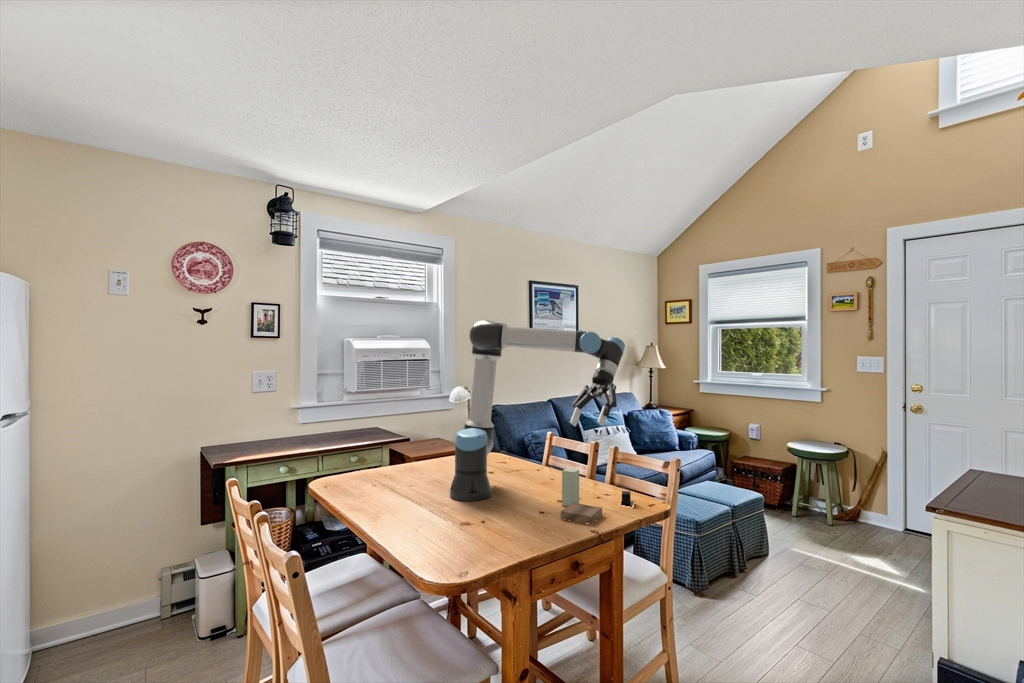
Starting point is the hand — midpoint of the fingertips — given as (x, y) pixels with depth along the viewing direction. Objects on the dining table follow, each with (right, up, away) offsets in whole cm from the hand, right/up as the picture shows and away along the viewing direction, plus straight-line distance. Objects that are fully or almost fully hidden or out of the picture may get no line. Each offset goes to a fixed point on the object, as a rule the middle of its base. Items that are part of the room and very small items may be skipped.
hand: (586, 424), depth 175 cm
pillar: (-6, -27, -6) cm, 28 cm away
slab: (-4, -27, -19) cm, 33 cm away
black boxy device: (+13, -28, -4) cm, 31 cm away
